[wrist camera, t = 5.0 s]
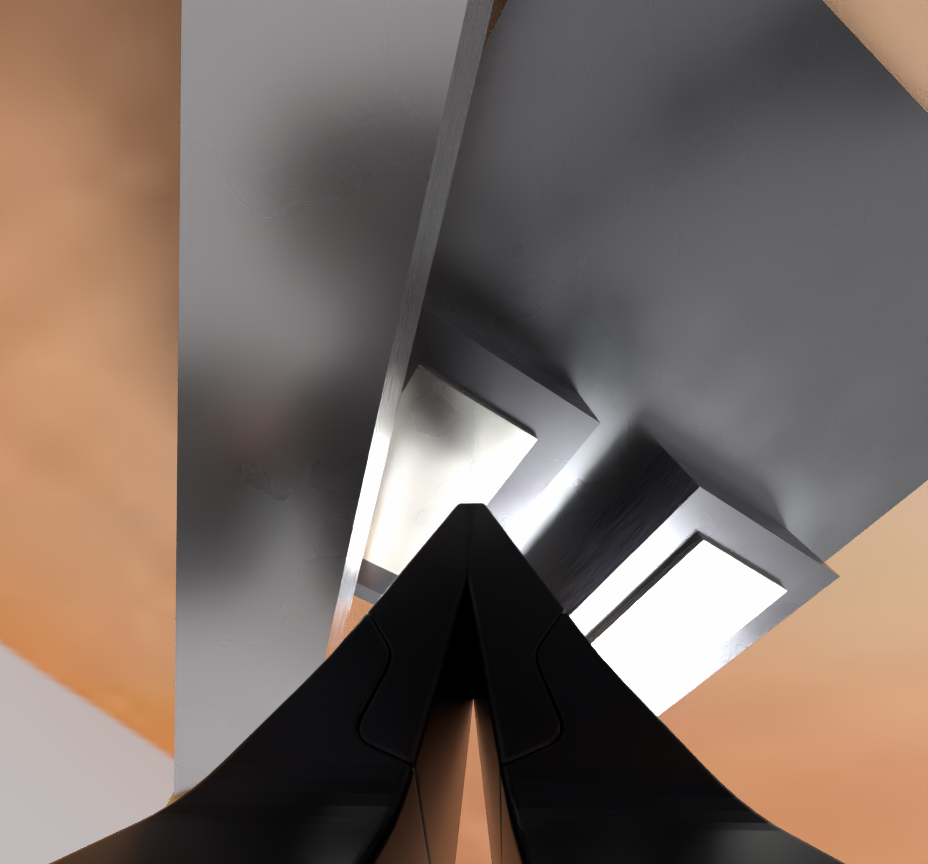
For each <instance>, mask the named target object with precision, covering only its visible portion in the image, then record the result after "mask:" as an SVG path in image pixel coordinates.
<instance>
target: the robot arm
mask: <svg viewBox="0 0 928 864" xmlns="http://www.w3.org/2000/svg"><path fill="white" fill-rule="evenodd" d="M473 700H474V709H475V718H476V727H477V736H478V744H479V753H480V762H481V771H482V780H483V788H484V797H485V806H486V815H487V824H488V832H489V841H490V850H491V859H492V864H845V863H843V862H841V861H839V860H837V859H835V858H834V857H832V856H830V855H828V854H826V853H824V852H823V851H821V850H819V849H817V848H815V847H813V846H812V845H810V844H808V843H806V842H804V841H802V840H801V839H799V838H797V837H795V836H793V835H791V834H790V833H788V832H786V831H784V830H782V829H781V828H779V827H777V826H775V825H774V824H772V823H771V822H769V821H768V820H767V819H765V818H764V817H762V816H761V815H759V814H758V813H756V812H755V811H754V810H753V809H751V808H750V807H749V806H747V805H746V804H745V803H744V802H742V801H741V800H740V799H739V798H737V797H736V796H735V795H734V794H733V793H732V792H731V791H730V790H728V789H727V788H726V787H725V786H724V785H723V784H722V783H721V782H720V781H719V780H718V779H717V778H716V777H715V776H714V775H713V774H712V773H711V772H710V771H709V770H708V769H707V768H706V767H705V766H704V765H703V764H702V763H701V762H700V761H699V760H698V759H697V758H696V757H695V756H694V755H693V754H692V753H691V752H690V751H689V749H688V748H687V747H686V746H685V745H684V744H683V743H682V742H681V741H680V740H679V739H678V738H677V737H676V736H675V735H674V734H673V733H672V732H671V731H670V729H669V728H668V727H667V726H666V725H665V724H664V723H663V722H662V721H661V720H660V719H659V718H658V717H657V716H656V715H655V714H654V713H653V712H652V711H651V710H650V708H649V707H648V706H647V705H646V704H645V703H644V702H643V701H642V700H641V699H640V698H639V697H638V696H637V695H636V694H635V693H634V692H633V691H632V690H631V688H630V687H629V686H628V685H627V684H626V683H625V682H624V681H623V680H622V679H621V678H620V677H619V675H618V674H617V673H616V672H615V671H614V670H613V669H612V668H611V667H610V666H609V664H608V663H607V662H606V661H605V660H604V659H603V658H602V657H601V656H600V654H599V653H598V652H597V651H596V649H595V648H594V647H593V646H592V644H591V643H590V642H589V641H588V639H587V638H586V637H585V636H584V634H583V633H582V632H581V631H580V629H579V628H578V627H577V625H576V624H575V623H574V621H573V620H572V619H571V617H570V616H569V615H568V614H567V613H565V610H564V608H563V607H562V606H561V604H560V603H559V602H558V600H557V599H556V598H555V596H554V595H553V594H552V592H551V591H550V590H549V588H548V587H547V586H546V584H545V583H544V582H543V580H542V579H541V578H540V576H539V575H538V574H537V573H536V571H535V570H534V569H533V567H532V566H531V565H530V563H529V562H528V561H527V559H526V558H525V557H524V555H523V554H522V553H521V551H520V550H519V549H518V547H517V546H516V545H515V543H514V542H513V541H512V539H511V538H510V537H509V535H508V534H507V533H506V531H505V530H504V529H503V527H502V526H501V525H500V523H499V522H498V521H497V519H496V518H495V517H494V515H493V514H492V513H491V511H490V510H489V509H488V507H487V506H486V505H485V504H484V503H459V504H458V505H457V506H456V507H455V508H454V509H453V510H452V512H451V513H450V514H449V515H448V516H447V518H446V519H445V520H444V521H443V522H442V524H441V525H440V526H439V527H438V528H437V530H436V531H435V532H434V533H433V534H432V536H431V537H430V538H429V539H428V540H427V542H426V543H425V544H424V545H423V546H422V548H421V549H420V550H419V551H418V552H417V554H416V555H415V556H414V557H413V558H412V560H411V561H410V562H409V563H408V564H407V566H406V567H405V568H404V569H403V570H402V572H401V573H400V574H399V575H398V576H397V578H396V579H395V580H394V581H393V582H392V584H391V585H390V586H389V587H388V588H387V590H386V591H385V592H384V593H383V594H382V596H381V597H380V598H379V599H378V600H377V602H376V603H375V604H374V605H373V606H372V608H371V609H370V610H369V611H368V614H366V615H365V616H364V617H363V618H362V619H361V620H360V622H359V623H358V624H357V625H356V626H355V628H354V629H353V630H352V631H351V632H350V633H349V635H348V636H347V637H346V638H345V639H344V640H343V641H342V643H341V644H340V645H339V646H338V647H337V648H336V649H335V650H334V652H333V653H332V654H331V655H330V656H329V657H328V658H327V659H326V660H325V661H324V662H323V663H322V664H321V665H320V666H319V667H318V668H317V669H316V670H315V671H314V672H313V673H312V674H311V675H310V677H309V678H308V679H307V680H306V681H305V682H304V683H303V684H302V685H301V686H300V687H299V688H298V689H297V690H296V691H295V692H294V693H292V694H291V695H290V696H289V697H288V698H287V699H286V700H285V701H284V702H283V703H282V704H281V705H280V706H279V707H278V708H277V709H276V710H275V711H274V712H273V713H272V714H271V715H270V716H269V717H268V718H267V719H266V720H265V721H264V722H263V723H262V724H261V725H260V726H259V727H258V728H257V729H256V730H255V731H254V732H253V733H251V734H250V735H249V736H248V737H247V738H246V739H245V740H244V741H243V742H242V743H241V744H240V745H239V746H238V747H237V748H236V749H235V750H234V751H233V752H232V753H231V754H230V755H229V756H228V757H227V758H226V759H225V760H224V761H223V762H222V763H221V764H220V765H218V766H217V767H216V768H215V769H214V770H213V771H212V772H211V773H210V774H209V775H208V776H207V777H205V778H204V779H203V780H202V781H200V782H199V783H198V784H197V785H196V786H194V787H193V788H192V789H191V790H189V791H188V792H187V793H185V794H184V795H183V796H181V797H180V798H178V799H177V800H176V801H174V802H173V803H171V804H170V805H168V806H167V807H165V808H163V809H162V810H160V811H158V812H157V813H155V814H153V815H151V816H149V817H147V818H145V819H143V820H142V821H140V822H137V823H135V824H133V825H131V826H129V827H127V828H125V829H123V830H120V831H119V832H116V833H114V834H112V835H110V836H108V837H105V838H104V839H101V840H99V841H97V842H95V843H93V844H91V845H88V846H86V847H84V848H82V849H80V850H78V851H76V852H73V853H72V854H69V855H67V856H65V857H63V858H61V859H59V860H57V861H54V862H52V863H50V864H455V859H456V850H457V841H458V832H459V823H460V814H461V805H462V796H463V787H464V778H465V769H466V760H467V751H468V742H469V733H470V724H471V714H472V705H473Z"/></svg>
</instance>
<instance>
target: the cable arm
mask: <svg viewBox="0 0 928 864" xmlns="http://www.w3.org/2000/svg"><path fill="white" fill-rule="evenodd" d="M493 4H494V0H182V13H181V120H180V227H179V335H178V442H177V549H176V656H175V763H174V766H175V767H174V772H175V773H174V793H173V795H172V797H171V798H170V801H169V802H168V804H167V806H168V805H170V804H171V803H173V802H174V801H176V800H177V799H178V798H180V797H181V796H183V795H184V794H185V793H187V792H188V791H189V790H191V789H192V788H193V787H194V786H196V785H197V784H198V783H199V782H200V781H202V780H203V779H204V778H205V777H207V776H208V775H209V774H210V773H211V772H212V771H213V770H214V769H215V768H216V767H217V766H218V765H220V764H221V763H222V762H223V761H224V760H225V759H226V758H227V757H228V756H229V755H230V754H231V753H232V752H233V751H234V750H235V749H236V748H237V747H238V746H239V745H240V744H241V743H242V742H243V741H244V740H245V739H246V738H247V737H248V736H249V735H250V734H251V733H253V732H254V731H255V730H256V729H257V728H258V727H259V726H260V725H261V724H262V723H263V722H264V721H265V720H266V719H267V718H268V717H269V716H270V715H271V714H272V713H273V712H274V711H275V710H276V709H277V708H278V707H279V706H280V705H281V704H282V703H283V702H284V701H285V700H286V699H287V698H288V697H289V696H290V695H291V694H292V693H294V692H295V691H296V690H297V689H298V688H299V687H300V686H301V685H302V684H303V683H304V682H305V681H306V680H307V679H308V678H309V677H310V675H311V674H312V673H313V672H314V671H315V670H316V669H317V668H318V667H319V666H320V665H321V664H322V663H323V662H324V661H325V660H326V659H327V658H328V657H329V656H330V655H331V654H332V653H333V652H334V650H335V649H336V648H337V647H338V646H339V645H340V644H341V643H342V641H343V637H344V633H345V629H346V625H347V620H348V616H349V612H350V608H351V604H352V599H353V595H354V591H355V587H356V582H357V578H358V574H359V570H360V566H361V561H362V557H363V553H364V549H365V544H366V540H367V536H368V532H369V528H370V523H371V519H372V515H373V511H374V506H375V502H376V498H377V494H378V489H379V485H380V481H381V477H382V473H383V468H384V464H385V460H386V456H387V451H388V447H389V443H390V439H391V435H392V430H393V426H394V422H395V418H396V413H397V409H398V405H399V401H400V397H401V392H402V388H403V384H404V380H405V375H406V371H407V367H408V363H409V359H410V354H411V350H412V346H413V342H414V337H415V333H416V329H417V325H418V321H419V316H420V312H421V308H422V304H423V299H424V295H425V291H426V287H427V282H428V278H429V274H430V270H431V266H432V261H433V257H434V253H435V249H436V244H437V240H438V236H439V232H440V228H441V223H442V219H443V215H444V211H445V206H446V202H447V198H448V194H449V190H450V185H451V181H452V177H453V173H454V168H455V164H456V160H457V156H458V152H459V147H460V143H461V139H462V135H463V130H464V126H465V122H466V118H467V114H468V109H469V105H470V101H471V97H472V92H473V88H474V84H475V80H476V75H477V71H478V67H479V63H480V59H481V54H482V50H483V46H484V42H485V37H486V33H487V29H488V25H489V21H490V16H491V12H492V8H493ZM167 806H166V807H167Z"/></svg>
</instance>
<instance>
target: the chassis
mask: <svg viewBox="0 0 928 864" xmlns="http://www.w3.org/2000/svg"><path fill="white" fill-rule="evenodd" d="M927 480H928V113H927V112H926V111H925V110H924V109H923V108H922V107H921V106H920V105H919V104H918V103H917V101H916V100H915V99H914V98H913V97H912V96H911V95H910V94H909V93H908V92H907V91H906V90H905V89H904V88H903V86H902V85H901V84H900V83H899V82H898V81H897V80H896V79H895V78H894V77H893V76H892V75H891V74H890V73H889V72H888V70H887V69H886V68H885V67H884V66H883V65H882V64H881V63H880V62H879V61H878V60H877V59H876V58H875V57H874V55H873V54H872V53H871V52H870V51H869V50H868V49H867V48H866V47H865V46H864V45H863V44H862V43H861V42H860V40H859V39H858V38H857V37H856V36H855V35H854V34H853V33H852V32H851V31H850V30H849V29H848V28H847V27H846V25H845V24H844V23H843V22H842V21H841V20H840V19H839V18H838V17H837V16H836V15H835V14H834V13H833V12H832V10H831V9H830V8H829V7H828V6H827V5H826V4H825V3H824V2H823V1H822V0H507V2H506V4H505V6H504V8H503V10H502V12H501V14H500V16H499V18H498V20H497V22H496V24H495V26H494V28H493V30H492V32H491V34H490V36H489V38H488V40H487V42H486V44H485V46H484V47H483V50H482V54H481V59H480V63H479V67H478V71H477V75H476V80H475V84H474V88H473V92H472V97H471V101H470V105H469V109H468V114H467V118H466V122H465V126H464V130H463V135H462V139H461V143H460V147H459V152H458V156H457V160H456V164H455V168H454V173H453V177H452V181H451V185H450V190H449V194H448V198H447V202H446V206H445V211H444V215H443V219H442V223H441V228H440V232H439V236H438V240H437V244H436V249H435V253H434V257H433V261H432V266H431V270H430V274H429V278H428V282H427V287H426V291H425V295H424V299H423V304H422V308H421V312H420V316H419V321H418V325H417V329H416V333H415V337H414V342H413V346H412V350H411V354H410V359H409V363H408V367H407V371H406V375H405V380H404V384H403V388H402V392H401V397H400V401H399V405H398V409H397V413H396V418H395V422H394V426H393V430H392V435H391V439H390V443H389V447H388V451H387V456H386V460H385V464H384V468H383V473H382V477H381V481H380V485H379V489H378V494H377V498H376V502H375V506H374V511H373V515H372V519H371V523H370V528H369V532H368V536H367V540H366V544H365V549H364V553H363V557H362V561H361V566H360V570H359V574H358V578H357V582H356V587H355V591H354V595H355V596H357V597H359V598H361V599H363V600H366V601H368V602H370V603H372V604H375V603H376V602H377V600H378V599H379V598H380V597H381V596H382V594H383V593H384V592H385V591H386V590H387V588H388V587H389V586H390V585H391V584H392V582H393V581H394V580H395V579H396V578H397V576H398V575H399V574H400V573H401V572H402V570H403V569H404V568H405V567H406V566H407V564H408V563H409V562H410V561H411V560H412V558H413V557H414V556H415V555H416V554H417V552H418V551H419V550H420V549H421V548H422V546H423V545H424V544H425V543H426V542H427V540H428V539H429V538H430V537H431V536H432V534H433V533H434V532H435V531H436V530H437V528H438V527H439V526H440V525H441V524H442V522H443V521H444V520H445V519H446V518H447V516H448V515H449V514H450V513H451V512H452V510H453V509H454V508H455V507H456V506H457V505H458V504H459V503H484V504H485V505H486V506H487V507H488V509H489V510H490V511H491V513H492V514H493V515H494V517H495V518H496V519H497V521H498V522H499V523H500V525H501V526H502V527H503V529H504V530H505V531H506V533H507V534H508V535H509V537H510V538H511V539H512V541H513V542H514V543H515V545H516V546H517V547H518V549H519V550H520V551H521V553H522V554H523V555H524V557H525V558H526V559H527V561H528V562H529V563H530V565H531V566H532V567H533V569H534V570H535V571H536V573H537V574H538V575H539V576H540V578H541V579H542V580H543V582H544V583H545V584H546V586H547V587H548V588H549V590H550V591H551V592H552V594H553V595H554V596H555V598H556V599H557V600H558V602H559V603H560V604H561V606H562V607H563V608H564V610H565V613H567V614H568V615H569V616H570V617H571V619H572V620H573V621H574V623H575V624H576V625H577V627H578V628H579V629H580V631H581V632H582V633H583V634H584V636H585V637H586V638H587V639H588V641H589V642H590V643H591V644H592V646H593V647H594V648H595V649H596V651H597V652H598V653H599V654H600V656H601V657H602V658H603V659H604V660H605V661H606V662H607V663H608V664H609V666H610V667H611V668H612V669H613V670H614V671H615V672H616V673H617V674H618V675H619V677H620V678H621V679H622V680H623V681H624V682H625V683H626V684H627V685H628V686H629V687H630V688H631V690H632V691H633V692H634V693H635V694H636V695H637V696H638V697H639V698H640V699H641V700H642V701H643V702H644V703H645V704H646V705H647V706H648V707H649V708H650V710H651V711H652V712H653V713H654V714H655V715H656V716H657V717H658V716H659V715H660V714H662V713H663V712H664V711H665V710H667V709H668V708H669V707H671V706H672V705H673V704H675V703H676V702H677V701H678V700H680V699H681V698H682V697H684V696H685V695H686V694H688V693H689V692H690V691H691V690H693V689H694V688H695V687H697V686H698V685H699V684H701V683H702V682H703V681H704V680H706V679H707V678H708V677H710V676H711V675H712V674H714V673H715V672H716V671H717V670H719V669H720V668H721V667H723V666H724V665H725V664H727V663H728V662H729V661H730V660H732V659H733V658H734V657H736V656H737V655H738V654H740V653H741V652H742V651H743V650H745V649H746V648H747V647H749V646H750V645H751V644H753V643H754V642H755V641H756V640H758V639H759V638H760V637H762V636H763V635H764V634H766V633H767V632H768V631H769V630H771V629H772V628H773V627H775V626H776V625H777V624H779V623H780V622H781V621H782V620H784V619H785V618H786V617H788V616H789V615H790V614H792V613H793V612H794V611H795V610H797V609H798V608H799V607H801V606H802V605H803V604H805V603H806V602H807V601H808V600H810V599H811V598H812V597H814V596H815V595H816V594H818V593H819V592H820V591H821V590H823V589H824V588H825V587H827V586H828V585H829V584H831V583H832V582H833V581H834V580H836V579H837V578H838V577H840V576H839V575H838V574H837V573H835V572H834V571H833V570H832V569H831V568H830V567H829V566H828V565H827V564H825V563H824V562H825V561H826V560H828V559H829V558H830V557H831V556H833V555H834V554H835V553H836V552H838V551H839V550H840V549H841V548H843V547H844V546H845V545H846V544H848V543H849V542H850V541H852V540H853V539H854V538H855V537H857V536H858V535H859V534H860V533H862V532H863V531H864V530H865V529H867V528H868V527H869V526H870V525H872V524H873V523H874V522H875V521H877V520H878V519H879V518H880V517H882V516H883V515H884V514H885V513H887V512H888V511H889V510H891V509H892V508H893V507H894V506H896V505H897V504H898V503H899V502H901V501H902V500H903V499H904V498H906V497H907V496H908V495H909V494H911V493H912V492H913V491H914V490H916V489H917V488H918V487H919V486H921V485H922V484H923V483H924V482H926V481H927Z"/></svg>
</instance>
